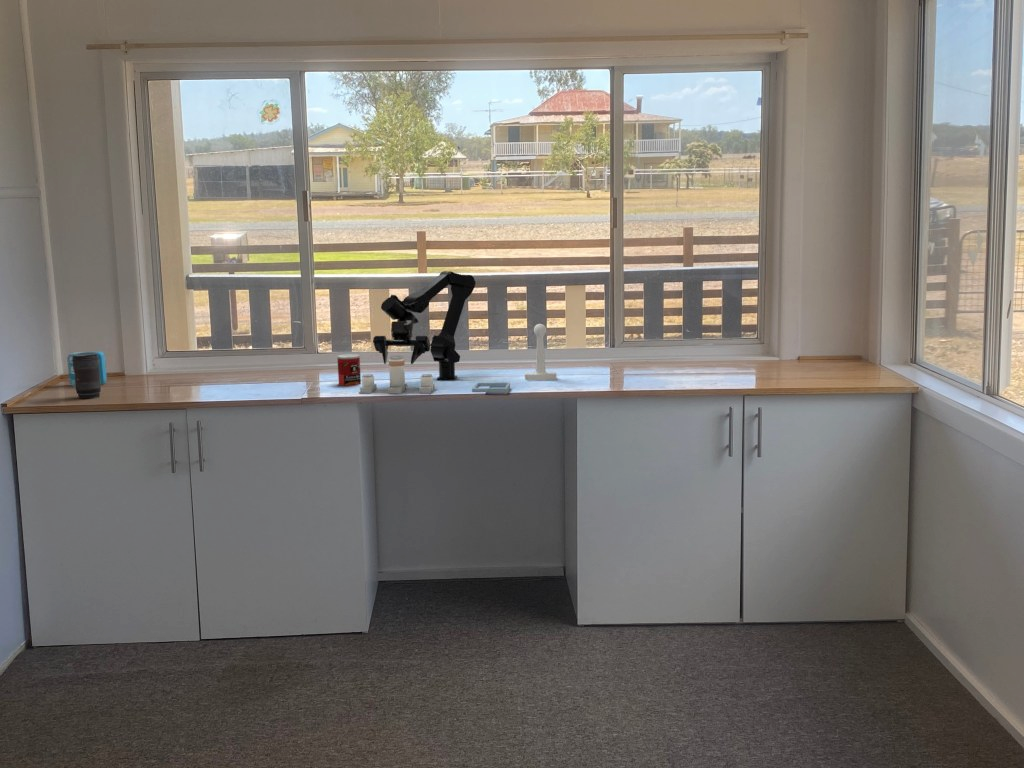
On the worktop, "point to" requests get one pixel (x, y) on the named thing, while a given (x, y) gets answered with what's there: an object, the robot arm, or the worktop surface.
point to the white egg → (368, 381)
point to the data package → (101, 367)
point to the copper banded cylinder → (397, 372)
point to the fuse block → (397, 390)
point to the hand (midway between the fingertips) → (398, 363)
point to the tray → (492, 388)
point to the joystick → (540, 358)
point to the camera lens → (87, 374)
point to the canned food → (349, 370)
